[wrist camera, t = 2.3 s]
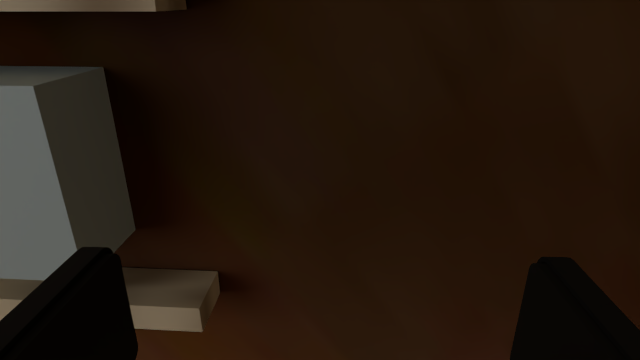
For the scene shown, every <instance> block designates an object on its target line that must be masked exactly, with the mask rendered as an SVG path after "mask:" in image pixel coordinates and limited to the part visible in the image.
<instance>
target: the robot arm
mask: <svg viewBox="0 0 640 360" xmlns="http://www.w3.org/2000/svg"><path fill="white" fill-rule="evenodd" d="M137 352H138V343H137V338H136V333H135V329H134V324H133V319H132V314H131V309H130V304H129V299H128V295H127V290H126V285H125V280H124V275H123V270H122V265H121V260H120V257H119V256H118V255H117V254H113V251H112V250H111V249H110V248H108V247H81V248H80V249H78V250H77V251H76V252H75V253H74V254H73V255H72V256H71V257H69V258H68V259H67V260H66V261H65V262H64V263H63V264H62V265H61V266H60V267H59V268H57V269H56V270H55V271H54V272H53V273H52V274H51V275H50V276H49V277H48V278H46V279H45V280H44V281H43V282H42V283H41V284H40V285H39V286H38V287H37V288H36V289H34V290H33V291H32V292H31V293H30V294H29V295H28V296H27V297H26V298H25V299H23V300H22V301H21V302H20V303H19V304H18V305H17V306H16V307H15V308H14V309H12V310H11V311H10V312H9V313H8V314H7V315H6V316H5V317H4V318H3V319H2V320H0V360H135V359H136V356H137ZM510 360H640V330H639V329H638V328H637V327H636V326H635V325H634V324H633V323H632V322H631V321H630V320H629V319H628V318H627V317H626V315H625V314H624V313H623V312H622V311H621V310H620V309H619V308H618V307H617V306H616V305H615V304H614V303H613V302H612V301H611V300H610V299H609V297H608V296H607V295H606V294H605V293H604V292H603V291H602V290H601V289H600V288H599V287H598V286H597V285H596V284H595V283H594V282H593V280H592V279H591V278H590V277H589V276H588V275H587V274H586V273H585V272H584V271H583V270H582V269H581V268H580V267H579V266H578V265H577V264H576V262H575V261H574V260H572V259H571V258H567V257H541V258H540V259H539V260H538V262H537V263H533V264H531V266H530V268H529V272H528V276H527V281H526V286H525V290H524V295H523V300H522V304H521V309H520V313H519V318H518V323H517V327H516V332H515V336H514V341H513V346H512V350H511V355H510Z"/></svg>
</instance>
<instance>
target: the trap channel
mask: <svg viewBox="0 0 640 360" xmlns="http://www.w3.org/2000/svg"><path fill="white" fill-rule="evenodd" d="M186 9H187V7H186V0H0V11H171V10H186ZM122 270H123V275H124V280H125V285H126V290H127V295H128V299H129V304H130V309H131V314H132V319H133V324H134V328H136V329H155V330H174V331H193V332H203V330H204V328H205V325H206V323H207V321H208V319H209V317H210V314H211V312H212V310H213V308H214V305H215V303H216V301H217V299H218V297H219V294H220V287H219V279H218V271H197V270H173V269H150V268H126V267H122ZM43 281H44V280H23V279H2V278H0V320H2V319H3V318H4V317H5V316H6V315H7V314H8V313H9V312H10V311H11V310H12V309H14V308H15V307H16V306H17V305H18V304H19V303H20V302H21V301H22V300H23V299H25V298H26V297H27V296H28V295H29V294H30V293H31V292H32V291H33V290H34V289H36V288H37V287H38V286H39V285H40V284H41V283H42V282H43Z"/></svg>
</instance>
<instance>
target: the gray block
mask: <svg viewBox="0 0 640 360" xmlns="http://www.w3.org/2000/svg"><path fill="white" fill-rule="evenodd" d="M135 230H136V229H135V224H134V219H133V214H132V209H131V204H130V199H129V194H128V189H127V184H126V179H125V174H124V169H123V164H122V159H121V154H120V149H119V144H118V139H117V134H116V129H115V124H114V119H113V114H112V109H111V104H110V99H109V94H108V89H107V84H106V79H105V74H104V69H103V67H49V66H0V278H2V279H23V280H45V279H46V278H48V277H49V276H50V275H51V274H52V273H53V272H54V271H55V270H56V269H57V268H59V267H60V266H61V265H62V264H63V263H64V262H65V261H66V260H67V259H68V258H69V257H71V256H72V255H73V254H74V253H75V252H76V251H77V250H78V249H80V248H81V247H108V248H110V249H111V250H112V251H113V253H114V252H115V251H116V250H117V249H118V248H119V247H120V246H121V245H122V244H123V243H124V241H125V240H126V239H127V238H128V237H129V236H130V235H131V234H132V233H133V232H134V231H135Z"/></svg>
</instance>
